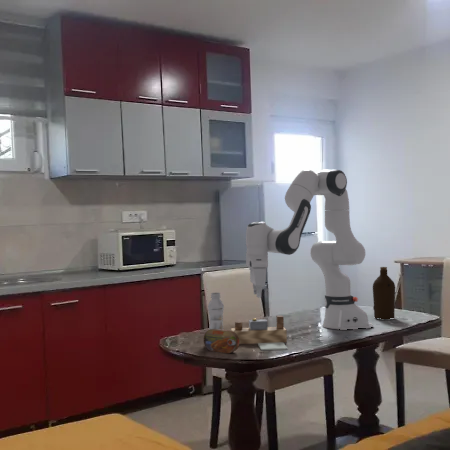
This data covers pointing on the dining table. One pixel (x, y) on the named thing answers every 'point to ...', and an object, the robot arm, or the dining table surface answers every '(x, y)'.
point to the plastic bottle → (216, 312)
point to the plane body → (262, 333)
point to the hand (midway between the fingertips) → (257, 295)
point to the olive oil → (384, 296)
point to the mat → (272, 346)
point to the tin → (221, 340)
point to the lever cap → (258, 324)
